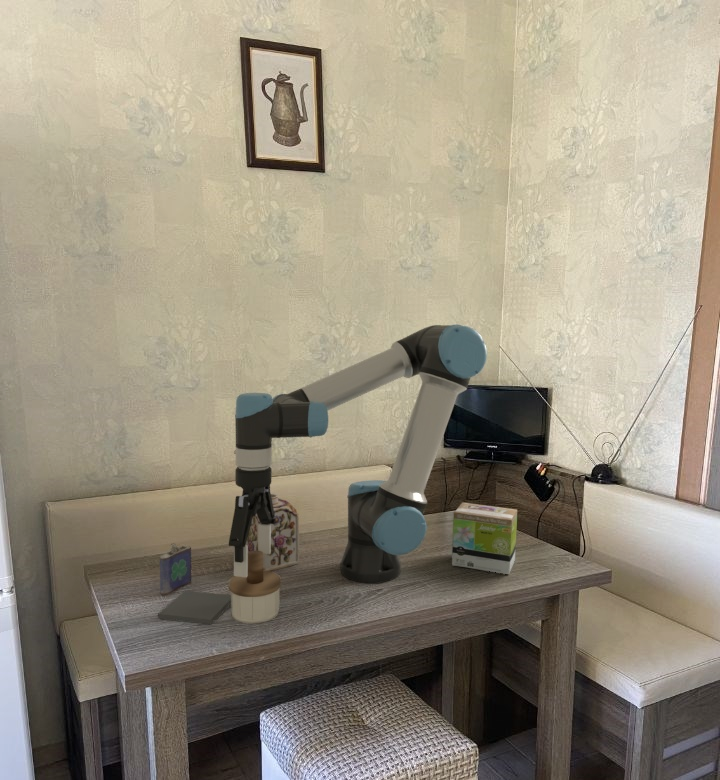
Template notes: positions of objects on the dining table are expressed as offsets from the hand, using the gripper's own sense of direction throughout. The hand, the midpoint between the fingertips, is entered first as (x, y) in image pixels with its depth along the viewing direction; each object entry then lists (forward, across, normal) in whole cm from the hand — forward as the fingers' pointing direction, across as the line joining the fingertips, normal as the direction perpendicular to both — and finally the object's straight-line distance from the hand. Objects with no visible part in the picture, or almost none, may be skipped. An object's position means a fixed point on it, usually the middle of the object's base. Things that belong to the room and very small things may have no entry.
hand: (253, 564), depth 134 cm
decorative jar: (+11, -28, -7) cm, 31 cm away
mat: (+11, +1, -13) cm, 17 cm away
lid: (+5, 0, 0) cm, 5 cm away
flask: (+11, -8, -23) cm, 27 cm away
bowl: (+11, 0, 0) cm, 11 cm away
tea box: (+10, -39, +48) cm, 63 cm away
